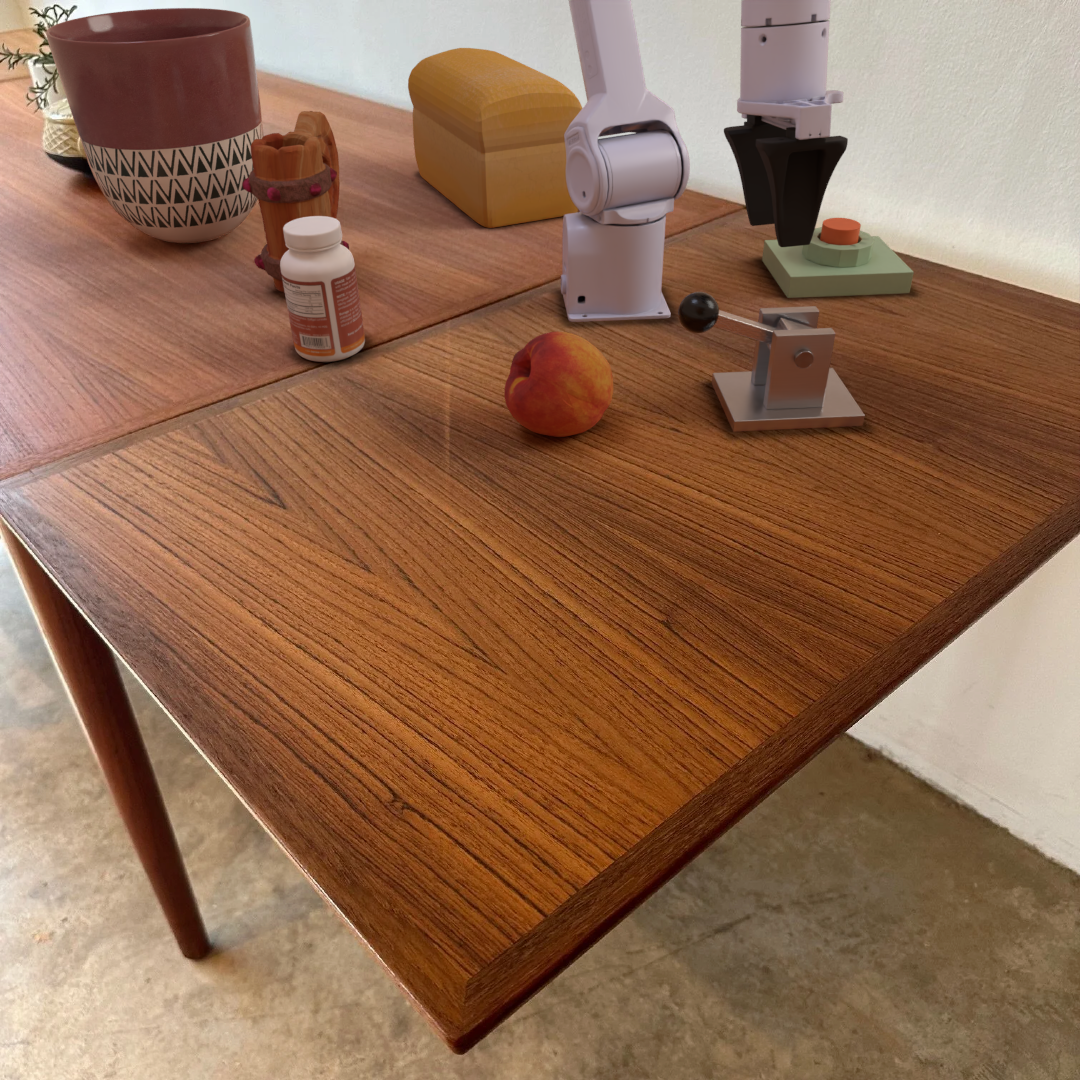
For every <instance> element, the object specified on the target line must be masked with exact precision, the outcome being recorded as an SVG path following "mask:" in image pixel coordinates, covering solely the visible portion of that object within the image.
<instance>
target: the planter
mask: <svg viewBox="0 0 1080 1080" xmlns="http://www.w3.org/2000/svg"><path fill="white" fill-rule="evenodd" d="M45 36H46V39H47V42H48V45H49V49H50V52H51V55H52V59H53V62H54V65H55V67H56V71H57V73H58V76H59V79H60V82H61V85H62V88H63V91H64V95H65V97H66V100H67V103H68V106H69V109H70V114H71V116H72V119H73V122H74V126H75V128H76V131H77V134H78V137H79V140H80V142H81V145H82V148H83V151H84V154H85V157H86V161H87V163H88V165H89V168H90V170H91V173H92V175H93V179H95V182H96V183H97V185H98V188H99V189H100V191H101V193H102V194H103V196H104V197H105V199H106V201H107V202H108V203H109V205H110V207H112V209H113V210H114V211H115V212H116V213H117V214H118V215H119V216H120V217H121V218H122V219H123V220H125V222H127V223H128V224H130V225H131V226H132V227H133V228H136V229H137V230H139V231H140V232H142V233H144V234H146V235H148V236H150V237H151V238H154V239H157V240H159V241H164V242H167V243H175V244H197V243H204V242H209V241H213V240H215V239H219V238H221V237H223V236H225V235H227V234H229V233H231V232H232V231H234V230H235V229H237V228H238V227H239V226H240V225H241V224H242V223H243V222H244V221H245V220H246V219H247V217H248V216H249V214H250V213H251V212H252V210H253V209H254V208H255V206H256V204H257V203H258V198H256V197H255V196H254V195H253V194H252V193H250V192H247V191H246V190H245V189H243V186H242V184H243V181H244V180H245V179H247V178H249V175H250V173H251V171H252V170H253V169H254V168H253V162H252V156H251V145H252V142H253V141H254V140H255V139H262V138H263V137H264V136H265V135H264V127H263V118H262V109H261V108H262V107H261V98H260V91H259V82H258V75H257V66H256V56H255V54H256V53H255V45H254V37H253V31H252V24H251V19H250V17H249V16H248V15H246V14H244V13H242V12H238V11H233V10H227V9H219V8H205V7H203V8H202V7H170V8H169V7H167V8H149V9H147V8H146V9H135V10H122V11H115V12H107V13H106V12H105V13H100V14H94V15H89V16H82V17H77V18H74V19H68V20H65V21H61V22H59V23H57V24H54V25H52V26H50V27H49V28H48V29H46V31H45Z"/></svg>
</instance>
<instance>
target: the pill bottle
mask: <svg viewBox="0 0 1080 1080" xmlns="http://www.w3.org/2000/svg"><path fill="white" fill-rule="evenodd" d="M283 232H284V239H285V243H286V247H287V248H289V250H288V251H286V252H285V253H284V255H283V256H282V258H281V261H280V268H281V275H282V280H283V286H284V291H285V293H284V296H285V302H286V308H287V312H288V313H287V314H288V319H289V325H290V330H291V335H292V341H293V346H294V349H295V352H296V353H297V354H298V355H299V356H300V357H301V358H303V359H304V360H308V361H312V362H319V363H331V362H332V363H333V362H337V361H342V360H345V359H348V358H350V357H352V356H355V355H356V354H358V353H359V352H360V351H361V350H362V349H363V348H364V346H365V342H366V336H365V327H364V321H363V313H362V307H361V306H362V305H361V300H360V291H359V285H358V278H357V271H356V264H355V259H354V258H355V257H354V255H353V253H352V252H351V250H350V249H349V250H348V249H347V248H346V247H345V246H343V245H341V244H340V243H341V241H343V231H342V225H341V222H340V220H338V219H335V218H332V217H326V216H310V217H303V218H298V219H295V220H292V221H290V222H288V223H287V224H285V225H284V227H283Z"/></svg>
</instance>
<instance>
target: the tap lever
mask: <svg viewBox="0 0 1080 1080" xmlns="http://www.w3.org/2000/svg"><path fill="white" fill-rule="evenodd" d="M677 317H678V321H679V323H680V325H681V326H682V327H683V329H685V330H686V331H687V332H690V333H693V334H704V333H705V332H708V331H710V330H711V329H712V328H717V329H720V330H724V331H726V332H729V333H733V334H736V335H740V336H742V337H746V338H749V339H752V340H755V341H756V340H758V341H761V342H765V343H768V344H767V346H768V348H769V350H771V343H772V336H773V330H794V329H813V328H812V327H809V326H805V325H802V324H799V323H796V322H793V321H790V320H787V319H784V318H780V320H779V322H778V324H777V326H776V328H774V327H771V326H768V325H765V324H762V323H759V322H758V321H755V320H752V319H749V318H746V317H742V316H739V315H736V314H733V313H730V312H726V311H724V310H720V308H719V304H718V302H717V300H716V299H715V297H714V296H712V295H711V294H709V293H708V292H704V291H694V292H691V293H689V294H687V295H686V296H684V298H682V300H681V301H680V303H679V306H678V310H677Z"/></svg>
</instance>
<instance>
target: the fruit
mask: <svg viewBox="0 0 1080 1080" xmlns="http://www.w3.org/2000/svg"><path fill="white" fill-rule="evenodd" d="M613 395H614V376H613V371H612V367H611V364H610V363H609V361H608V360H607V358H606V357H605V355H604V354H603V353H602V352H601V351H600V350H599V349H598V348H597V347H596V346H595V345H593V344H592V343H591V342H589V341H588V340H587V339H585V338H584V337H582V336H580V335H578V334H575V333H571V332H568V331H567V332H566V331H549V332H545V333H542V334H539V335H537V336H535V337H534V338H532V339H530V340H529V341H528V342H527V343H526V344H525V345H524V347H523V348H521V349H519V350H518V351H517V352H516V353H515V354H514V356H513V358H512V361H511V365H510V369H509V374H508V376H507V379H506V381H505V384H504V394H503V396H504V400H505V405H506V408H507V409H508V411H509V413H510V415H511V416H512V418H513V419H515V421H516V422H518V424H519V425H521V426H522V427H523V428H525V429H527V430H529V431H530V432H533V433H536V434H539V435H544V436H547V437H548V436H549V437H555V438H563V437H570V436H576V435H579V434H583V433H586V432H587V431H588V430H590V429H592V428H593V427H595V426H596V424H598V423H599V422H600V420H602V418H603V416H604V413H605V412H606V410H608V408H609V407H610V405H611V403H612V401H613V400H612V399H613Z"/></svg>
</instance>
